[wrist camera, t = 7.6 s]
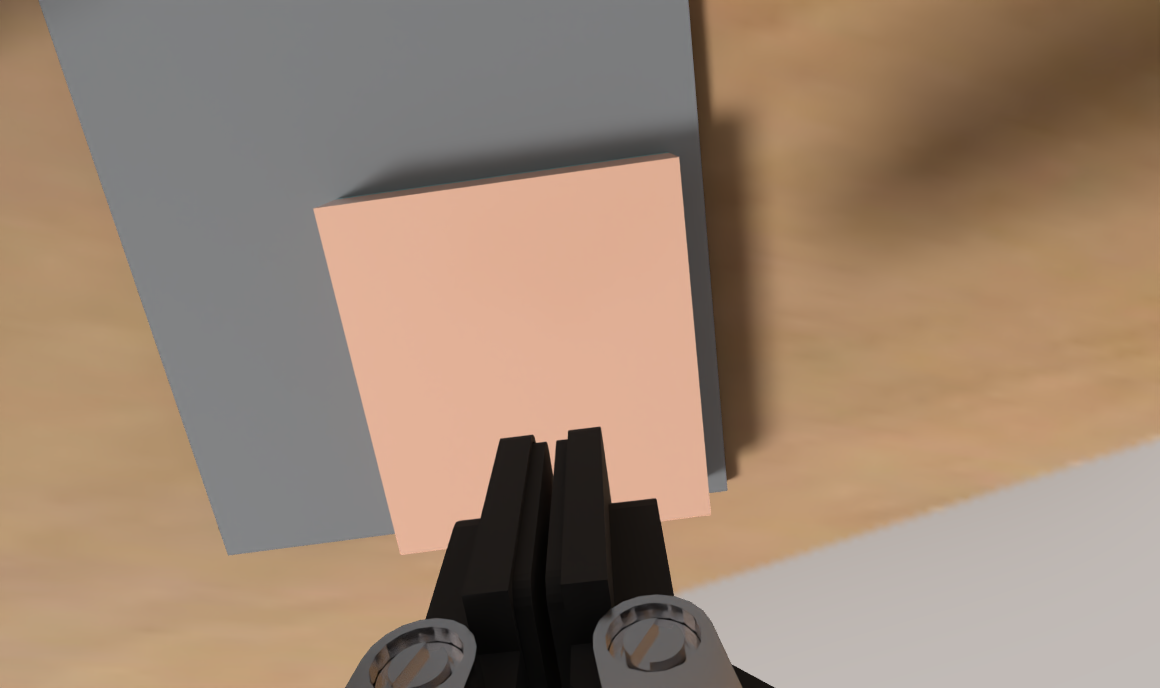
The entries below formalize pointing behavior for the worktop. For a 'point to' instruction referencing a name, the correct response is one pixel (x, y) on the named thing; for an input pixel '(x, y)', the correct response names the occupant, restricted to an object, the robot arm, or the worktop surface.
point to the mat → (341, 195)
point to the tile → (521, 332)
